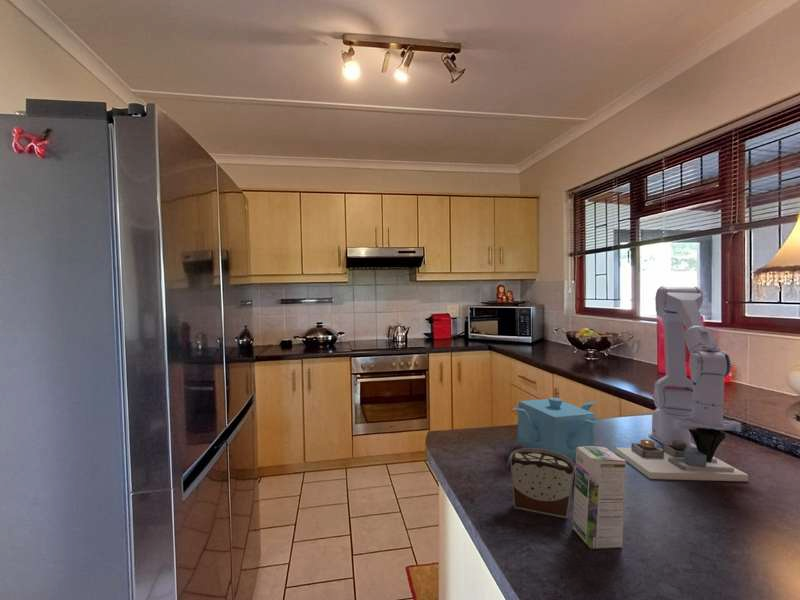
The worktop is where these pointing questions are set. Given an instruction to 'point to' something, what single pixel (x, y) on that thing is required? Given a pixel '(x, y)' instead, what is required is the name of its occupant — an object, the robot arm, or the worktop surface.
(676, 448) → the black button
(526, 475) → the food container
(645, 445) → the copper button
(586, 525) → the syrup box
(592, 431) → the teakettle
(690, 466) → the control panel
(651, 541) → the worktop surface
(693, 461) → the block
